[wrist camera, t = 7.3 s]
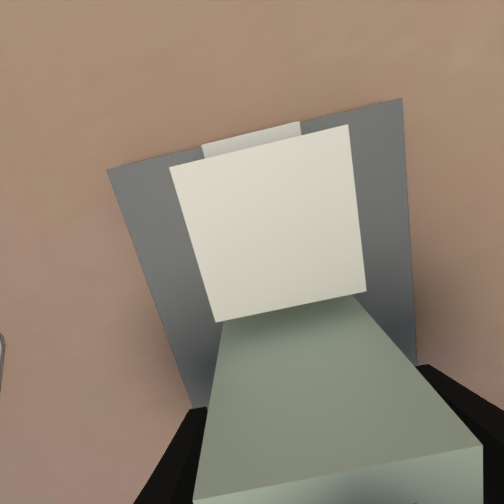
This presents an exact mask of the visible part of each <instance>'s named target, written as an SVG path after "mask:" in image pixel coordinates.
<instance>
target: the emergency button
mask: <svg viewBox="0 0 504 504" xmlns="http://www.w3.org/2000/svg"><path fill="white" fill-rule="evenodd" d="M4 352H5V342H4V338H3V336H2V335H1V334H0V390H1V380H2V371H3V362H4Z"/></svg>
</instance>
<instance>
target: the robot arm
mask: <svg viewBox="0 0 504 504" xmlns="http://www.w3.org/2000/svg"><path fill="white" fill-rule="evenodd" d="M415 368H416V369H417V370H418V371H419V372H420V373H421V375H422V376H423V377H424V378H425V379H426V380H427V382H428V383H429V384H430V385H431V386H432V387H433V388H434V390H435V391H436V392H437V393H438V394H439V395H440V396H441V398H442V399H443V400H444V401H445V402H446V403H447V405H448V406H449V407H450V408H451V409H452V410H453V411H454V413H455V414H456V415H457V416H458V417H459V418H460V419H461V421H462V422H463V423H464V424H465V425H466V426H467V428H468V429H469V430H470V431H471V432H472V433H473V434H474V436H475V437H476V438H477V439H478V440H479V441H480V442H481V444H482V445H483V504H504V411H503V410H501V409H500V408H498V407H496V406H495V405H493V404H492V403H490V402H488V401H487V400H485V399H483V398H482V397H480V396H478V395H477V394H475V393H474V392H472V391H470V390H469V389H467V388H466V387H464V386H462V385H461V384H459V383H458V382H456V381H455V380H453V379H451V378H450V377H448V376H447V375H445V374H443V373H442V372H440V371H439V370H437V369H435V368H434V367H432V366H431V365H429V364H426V365H421V366H415ZM207 414H208V410H207V407H206V406H205V407H200V408H195V409H190V410H189V411H188V413H187V414H186V416H185V418H184V420H183V421H182V423H181V425H180V427H179V429H178V430H177V432H176V434H175V436H174V437H173V439H172V441H171V443H170V444H169V446H168V448H167V450H166V451H165V453H164V455H163V456H162V458H161V460H160V461H159V463H158V465H157V467H156V468H155V470H154V472H153V473H152V475H151V477H150V478H149V480H148V481H147V483H146V485H145V486H144V488H143V489H142V491H141V492H140V494H139V496H138V497H137V499H136V500H135V502H134V503H133V504H194V503H193V501H192V500H193V494H194V488H195V483H196V477H197V471H198V466H199V460H200V454H201V448H202V443H203V437H204V431H205V425H206V420H207Z"/></svg>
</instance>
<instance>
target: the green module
mask: <svg viewBox="0 0 504 504" xmlns="http://www.w3.org/2000/svg"><path fill="white" fill-rule="evenodd" d="M192 501H193V503H194V504H483V445H482V444H481V442H480V441H479V440H478V439H477V438H476V437H475V436H474V434H473V433H472V432H471V431H470V430H469V429H468V428H467V426H466V425H465V424H464V423H463V422H462V421H461V419H460V418H459V417H458V416H457V415H456V414H455V413H454V411H453V410H452V409H451V408H450V407H449V406H448V405H447V403H446V402H445V401H444V400H443V399H442V398H441V396H440V395H439V394H438V393H437V392H436V391H435V390H434V388H433V387H432V386H431V385H430V384H429V383H428V382H427V380H426V379H425V378H424V377H423V376H422V375H421V373H420V372H419V371H418V370H417V369H416V368H415V367H414V365H413V364H412V363H411V362H410V361H409V360H408V358H407V357H406V356H405V355H404V354H403V353H402V352H401V350H400V349H399V348H398V347H397V346H396V345H395V344H394V342H393V341H392V340H391V339H390V338H389V337H388V335H387V334H386V333H385V332H384V331H383V330H382V329H381V327H380V326H379V325H378V324H377V323H376V322H375V321H374V319H373V318H372V317H371V316H370V315H369V314H368V312H367V311H366V310H365V309H364V308H363V307H362V306H361V304H360V303H359V302H358V301H357V300H356V299H355V298H354V296H353V295H352V294H351V295H346V296H341V297H336V298H332V299H327V300H322V301H317V302H312V303H307V304H303V305H298V306H293V307H288V308H283V309H278V310H274V311H269V312H264V313H259V314H254V315H249V316H245V317H240V318H235V319H230V320H225V321H224V322H223V328H222V334H221V339H220V345H219V351H218V357H217V362H216V368H215V374H214V380H213V385H212V391H211V397H210V403H209V408H208V414H207V420H206V425H205V431H204V437H203V443H202V448H201V454H200V460H199V466H198V471H197V477H196V483H195V488H194V494H193V500H192Z"/></svg>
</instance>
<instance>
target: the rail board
mask: <svg viewBox="0 0 504 504" xmlns="http://www.w3.org/2000/svg"><path fill="white" fill-rule="evenodd" d="M201 146H202V147H198V148H193V149H189V150H185V151H181V152H177V153H173V154H169V155H165V156H161V157H156V158H152V159H148V160H144V161H140V162H136V163H132V164H128V165H124V166H120V167H115V168H111V169H107V170H106V171H107V174H108V176H109V179H110V182H111V184H112V187H113V190H114V193H115V195H116V198H117V201H118V204H119V206H120V209H121V212H122V215H123V217H124V220H125V223H126V226H127V228H128V231H129V234H130V236H131V239H132V242H133V245H134V247H135V250H136V253H137V256H138V258H139V261H140V264H141V267H142V269H143V272H144V275H145V278H146V280H147V283H148V286H149V288H150V291H151V294H152V297H153V299H154V302H155V305H156V308H157V310H158V313H159V316H160V319H161V321H162V324H163V327H164V330H165V332H166V335H167V338H168V340H169V343H170V346H171V349H172V351H173V354H174V357H175V360H176V362H177V365H178V368H179V371H180V373H181V376H182V379H183V382H184V384H185V387H186V390H187V392H188V395H189V398H190V401H191V403H192V406H193V409H195V408H200V407H205V406H206V407H207V410H208V408H209V403H210V397H211V391H212V385H213V380H214V374H215V368H216V362H217V357H218V351H219V345H220V339H221V334H222V328H223V322H224V321H225V320H230V319H235V318H240V317H245V316H249V315H254V314H259V313H264V312H269V311H274V310H278V309H283V308H288V307H293V306H298V305H303V304H307V303H312V302H317V301H322V300H327V299H332V298H336V297H341V296H346V295H351V294H352V295H353V296H354V298H355V299H356V300H357V301H358V302H359V303H360V304H361V306H362V307H363V308H364V309H365V310H366V311H367V312H368V314H369V315H370V316H371V317H372V318H373V319H374V321H375V322H376V323H377V324H378V325H379V326H380V327H381V329H382V330H383V331H384V332H385V333H386V334H387V335H388V337H389V338H390V339H391V340H392V341H393V342H394V344H395V345H396V346H397V347H398V348H399V349H400V350H401V352H402V353H403V354H404V355H405V356H406V357H407V358H408V360H409V361H410V362H411V363H412V364H413V365H414V367H415V366H417V351H416V334H415V316H414V298H413V281H412V263H411V245H410V228H409V210H408V192H407V174H406V157H405V139H404V121H403V104H402V98H399V99H395V100H391V101H387V102H382V103H378V104H374V105H370V106H366V107H362V108H358V109H354V110H350V111H345V112H341V113H337V114H333V115H329V116H325V117H321V118H317V119H313V120H308V121H304V122H299V121H297V122H293V123H289V124H285V125H281V126H277V127H273V128H268V129H264V130H260V131H256V132H252V133H248V134H244V135H240V136H236V137H232V138H227V139H223V140H219V141H215V142H211V143H207V144H203V145H201Z"/></svg>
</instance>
